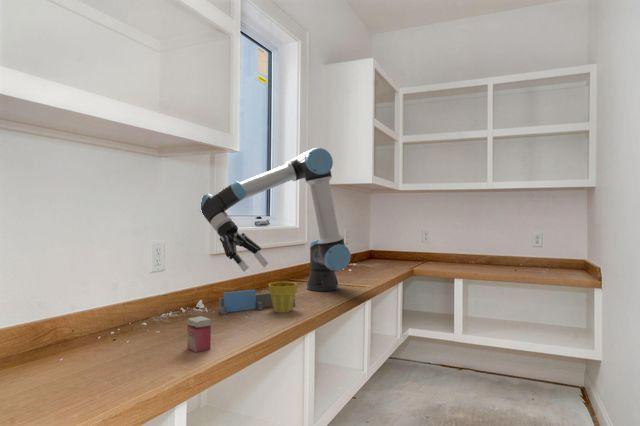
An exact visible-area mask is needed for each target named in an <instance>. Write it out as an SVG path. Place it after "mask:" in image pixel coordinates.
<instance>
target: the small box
mask: <svg viewBox="0 0 640 426" xmlns="http://www.w3.org/2000/svg"><path fill="white" fill-rule="evenodd" d="M211 324H212V319H211V318H208V317H205V316H202V315H200V316H196V317H190V318H187V336H186V338H187V339H186V341H187V349H189V350H191V351H192V352H195V353H200V352H204V351H208V350H210V349H211V345H212V344H211V342H212V341H211V339H212V338H211V334H212V331H211V329H212V327H211V326H212V325H211Z"/></svg>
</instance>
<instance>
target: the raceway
mask: <svg viewBox="0 0 640 426" xmlns="http://www.w3.org/2000/svg"><path fill="white" fill-rule="evenodd" d="M256 291H257V289H247V290H238V291H237V290H236V291H230V292H229V291H228V292H223V297H219V298H218V299H219V303H218V308H219V309H218V311H219V312H218V313H220V314H222V315H223V316H226V315H227V313H229V312H240V311H246V310H247V311H248V310H254V309H256V310H258V311H263V308H269V307H273V304H272V299H271V295H270V294H269V292H266V293H265V292H263V293H256ZM295 306H296V299H295V298H294V302H293V307H295Z"/></svg>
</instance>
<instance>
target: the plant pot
mask: <svg viewBox="0 0 640 426" xmlns="http://www.w3.org/2000/svg"><path fill="white" fill-rule="evenodd" d="M297 292H298V283H296V282H292V281H275V282H274V281H273V282H271V283H268V293H269V294H270V295H271V299H272V304H273V306H272V308H273V312H276V313H288V312H291V311H292V310H293V307H294V306H293V302H294V299H295V297H296V295H297Z"/></svg>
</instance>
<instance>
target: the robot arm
mask: <svg viewBox="0 0 640 426" xmlns="http://www.w3.org/2000/svg"><path fill="white" fill-rule="evenodd" d="M333 160H334V159H333V157H332V155H331V153H330V152H329V151H328V150H326V149H325V148H322V147H316V148H315V147H314V148H311V149H309V150H307V151H304V152H302V153H301V154H300V155H297V156H296V157H294V158H292V159H290V160H288V161H286V162H285V164H284V165H281V166H278V167H276V168H272V169H271V170H269V171H266V172H263V173H261V174H259V175H255V176H253V177H250V178H248V179H245V180H242V181H235V182H232V183H230V185H228V186H227V187H224V188H225V189H224V188H222V189H223V190H222V191H221V192H219V191H218V193H216V194H214V195H212V194H210V193H205V194H206V195H205V194H203V195H204V196H203V198H202V202H201V210H202V213H203V214H202V213H201V214H202V216H203V215H204V218H205V219H206V220H207V222H208V223H209V224H210V225H211V227H212V228H213V230H214V231H215V232H216V233H217V235H218V236H219V237H220V238H219V240H220V242H221V244H222V248H223V251H224V254H225V256H226V257H227V258H229V260H232V259H233V261H234V262H235V263H236V264H237V265H238V267H239V268H240V269H241V270H242V272H243V273H244V272H246V271H247V270H248V269H249V267H250V266H249V264H248V263H247V262H246V261H245V259H244V258H243V257H242V255H241V254H240V253H239V252H238V251H237V246H239V247H243V248H244V249H246V250H247V251H249V252H250V253H252V254H254V255H253V256H254V257H255V259H256V260H257V261H258V262H259V264H260V265H261V266H262V267H263V268H266V267H267V266H268V265H269V264H270V262H269V261H268V260H267V258H266V257H265V256H264V255H263V254H262V252H261V250H262V247H261V246H259V245H258V244H257V243H256V242H255V241H253V240H252V239H251V238H250V237H248V236H247V235H246V234H245V233H244V232H242V233H241V234H240V233H239V231H238V230H239V228H238V226H237V224H236V223H235V222H234V221H233V220H232V218H231V217H230V216H229V214H228V213H227V212H226V211H227V210H229V209H230V208H232V207H234V206H235V205H236V204H238V203H239V202H241V201H243V200H245V199H248V198H251V197H253V196H255V195H257V194H260V193H262V192H265V191H268V190H270V189H272V188H275V187H278V186H281V185H283V184H285V183H287V182H290V181H293V182H296V181H298V180H301V179H305V183H306V184H308V185H309V186H310V192H311V197H312V202H313V207H314V212H315V217H316V223H317V228H318V232H319V234H318V235H319V239H317V240H316V239H315V240H311V242H310V245H309V253H310V254H309V256H310V257H309V260H310V262H309V263H310V264H309V265H310V266H309V267H310V270H309V271H310V272H309V274H308V275H309V276H308V279H307V281H306V289H307V290H309V291H313V292H332V291H337V290H339V282H338V279H337V275H336V272H337V271H338V272H339V271H343V270H345V268H347V266H348V265H349V263H350V261H351V256H352V255H351V252H350V249H349V248H348V246H346V244H345V240H344V237H343V236H342V235H340V231H339V226H338V222H337V217H336V212H335V211H336V210H335V205H334V200H333V196H332V195H333V194H332V190H331V189H332V188H331V184H330V180H332V176H333V175H332V171H331V169H332V167H333V164H334V161H333ZM335 271H336V272H335Z"/></svg>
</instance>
